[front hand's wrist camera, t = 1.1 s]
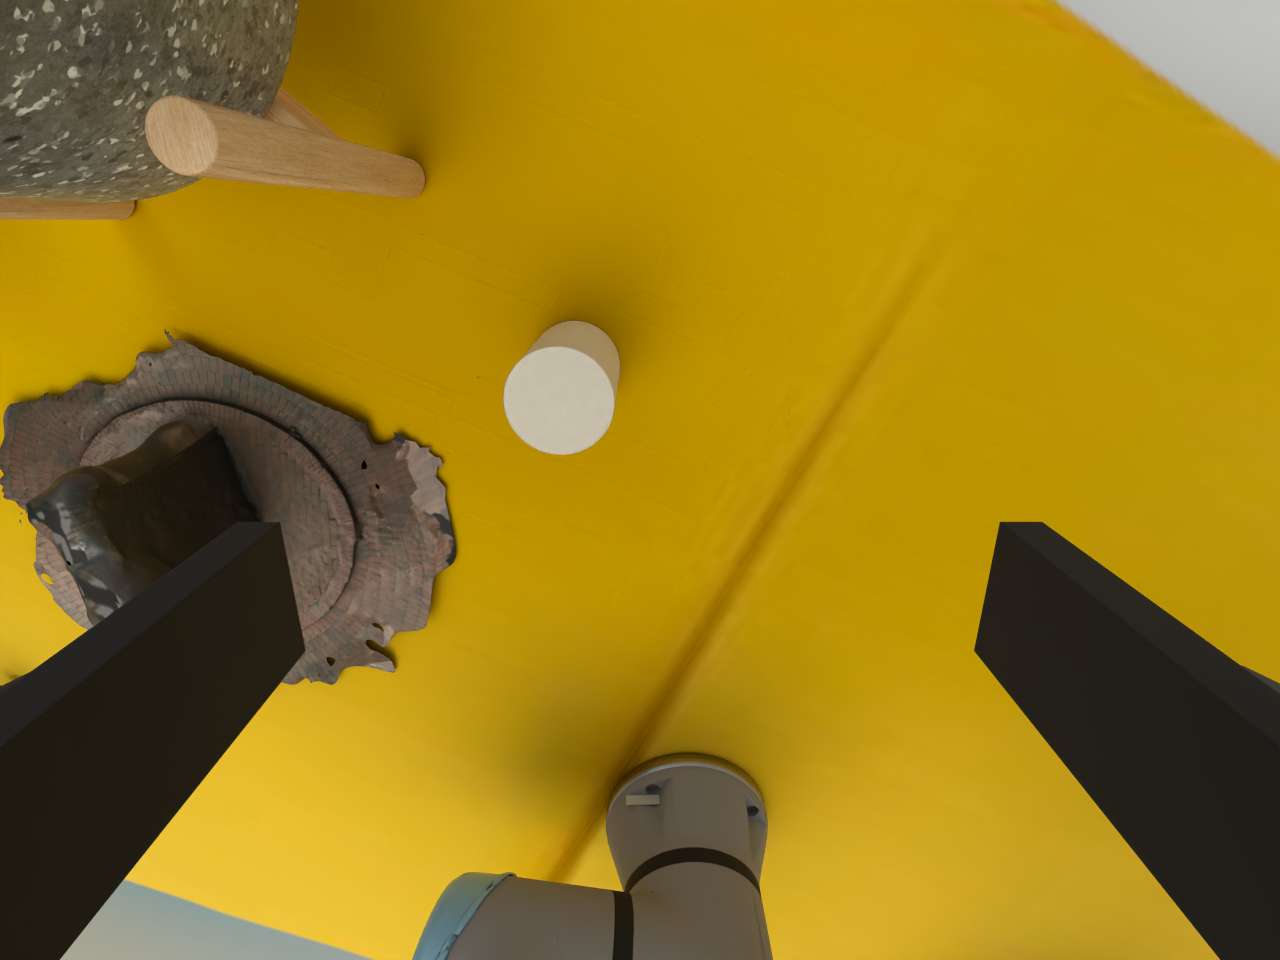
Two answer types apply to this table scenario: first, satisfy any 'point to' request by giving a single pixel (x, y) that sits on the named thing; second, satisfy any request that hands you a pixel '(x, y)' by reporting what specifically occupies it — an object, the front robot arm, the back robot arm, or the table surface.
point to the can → (564, 389)
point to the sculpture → (228, 498)
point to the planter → (161, 107)
